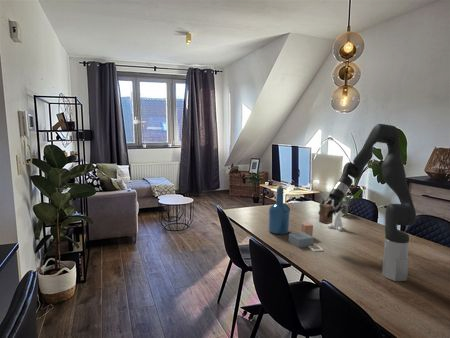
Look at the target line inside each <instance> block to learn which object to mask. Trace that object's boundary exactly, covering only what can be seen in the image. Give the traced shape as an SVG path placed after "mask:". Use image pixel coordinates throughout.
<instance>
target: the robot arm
mask: <svg viewBox="0 0 450 338" xmlns="http://www.w3.org/2000/svg"><path fill="white" fill-rule="evenodd" d="M376 143H382V144H386V146H387V154H386V156H385V158H384V159H383V162H382V164H381V172H382V173H381V174H382V178H383V180H384V182H385V184H386V185H387V186H388V187H389V188H390V189H391V191H393V192H394V194H395V195H396V196H397V198H398V200H399V203H389V204H388V205H387V206H386V208H385V222H384V223H385V224H384V235H385V236H384V245H383V246H384V247H383V256H382V257H383V259H382V271H381V274H382V276H383V277H384V278H386V279H387V280H388V279H389V280H391V281H393V282H405V281H408V273H409V263H410V261H409V259H408V254H409V242H410V235H409V234H408V233H406V232H405V231H402V230H399V229H398V226H413V225H415V223H416V222H417V213H416V208H415V206H414V202H413V199H412V196H411V194H410V189H409V186H408V180H407V175H406V171H405V170H406V169H405V166H404V165H405V164H404V163H403V157H402V152H401V145H400V134H399V129H398V128H397V127H396V126H395V125H392V124H391V125H390V124H387V123H386V124H384V123H376V124H375V125H374V126H373V128H371V131H370V132H369V134H368V136H367V138H366V140H365V142H364V144H363V145H362V148H361V150H360V151H359V152H358V153H357V154H356V156H355V157H354V159H353V160H352V162H351V161H349V162H346V163H345V165H343V169H342V172H341V175H340V177H339V179H338V181H337V183H336V184H335V185H334V186H333V187H332V189H331V191H330V193H329V195H328V197H326V198H324V197H322V198H321V199H320V202H319V204H318V205H319V207H320V205H321V204H330V205H332V208H331V211H329V213H328V215H327V217H328V218H330V217H331V216H332V215H333V216H334V214H333V213H335V212H336V213H338V212H339V211H340V210H341V209H342V208H343V207H344V205H343V203H342V202H341V201H342V200H343V199H345V197H346V195H347V194H348V191H349V190H350V188H351V186H352V185H353V179H355V180H357V179H359V178H361V177H362V175H363V172H364V169H365V167H366V166H367V164H368V163H370V161H371V160H372V158H373V156H374V155H373V151H374V150H373V147H374V146H375V145H376ZM340 202H341V203H340ZM337 205H338V206H337ZM336 206H337V207H336ZM319 214H320V210H319V211H318V215H319Z"/></svg>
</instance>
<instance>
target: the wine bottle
mask: <svg viewBox="0 0 450 338" xmlns="http://www.w3.org/2000/svg"><path fill="white" fill-rule="evenodd" d="M275 201H276V202H275V203H274V204H272V205H270V206H269V208H268V226H267V228H268V232H269V233H271V234H275V235H287V234H289V232H290V221H291V208H290V207H289V205H288V204H286V203H284V187H283V185H280V184H279V185H278V186H277V187H276V200H275Z"/></svg>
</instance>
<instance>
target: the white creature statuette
mask: <svg viewBox="0 0 450 338" xmlns="http://www.w3.org/2000/svg"><path fill="white" fill-rule="evenodd" d="M343 215H344V214H342V212H340V211H339V212H338V213H335V214H334V216H335V217H334V218H333V223H331V224H327V228H328V229H333V230H337V231H338V232H341V231H342V230H343V227H344V225H343V219H342V217H343Z"/></svg>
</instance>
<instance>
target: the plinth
mask: <svg viewBox="0 0 450 338" xmlns="http://www.w3.org/2000/svg"><path fill="white" fill-rule="evenodd" d="M314 239H315V237H314V236H313V235H312V236H310V235H308V234H306V233H304V232H301V231H299V232H292V233H288V242H289V243H290V244H291V245H294V246H295V247H297V248H305V247H306V248H307V247H308V246H314V241H315V240H314Z"/></svg>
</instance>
